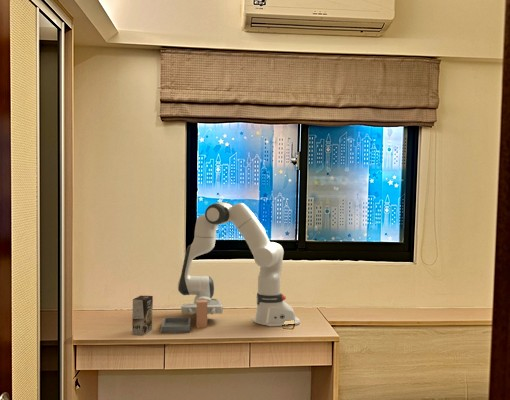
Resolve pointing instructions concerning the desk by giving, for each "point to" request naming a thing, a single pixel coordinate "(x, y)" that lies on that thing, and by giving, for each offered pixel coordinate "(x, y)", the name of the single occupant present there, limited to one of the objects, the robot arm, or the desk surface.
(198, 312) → the block
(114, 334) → the desk surface
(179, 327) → the tray
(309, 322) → the desk surface
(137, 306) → the coffee box
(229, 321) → the desk surface
